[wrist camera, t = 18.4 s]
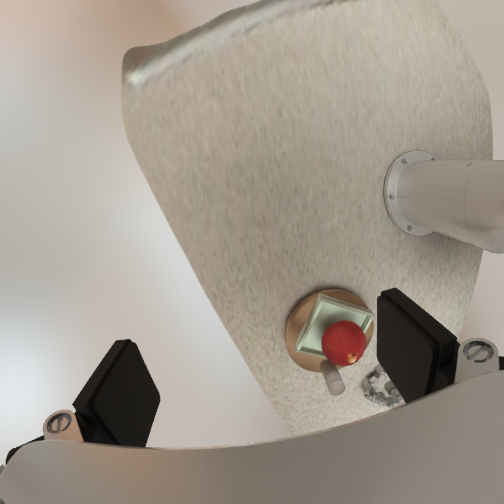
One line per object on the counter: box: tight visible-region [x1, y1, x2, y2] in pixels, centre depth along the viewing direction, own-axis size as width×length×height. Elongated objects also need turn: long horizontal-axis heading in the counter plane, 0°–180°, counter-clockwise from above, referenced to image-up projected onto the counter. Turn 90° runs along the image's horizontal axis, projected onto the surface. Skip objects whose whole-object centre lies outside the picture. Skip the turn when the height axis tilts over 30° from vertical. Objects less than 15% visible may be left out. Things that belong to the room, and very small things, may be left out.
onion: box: [321, 320, 366, 366], centre depth 33 cm, size 6×6×8 cm
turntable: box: [285, 289, 375, 396], centre depth 36 cm, size 13×13×8 cm
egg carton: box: [362, 364, 404, 408], centre depth 43 cm, size 11×8×4 cm
